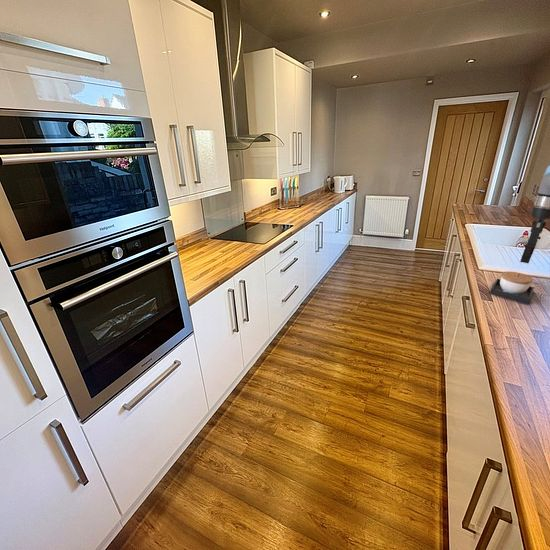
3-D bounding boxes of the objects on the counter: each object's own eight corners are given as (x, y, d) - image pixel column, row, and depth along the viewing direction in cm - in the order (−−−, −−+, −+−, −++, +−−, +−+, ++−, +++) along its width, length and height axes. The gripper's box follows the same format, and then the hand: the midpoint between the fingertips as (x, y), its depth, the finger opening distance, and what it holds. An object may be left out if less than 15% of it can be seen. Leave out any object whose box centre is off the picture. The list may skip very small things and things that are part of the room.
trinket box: (501, 295, 127) (508, 276, 123) (493, 285, 136) (499, 266, 132) (530, 299, 124) (538, 279, 120) (520, 288, 133) (527, 269, 129)
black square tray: (532, 292, 131) (534, 287, 129) (528, 304, 122) (530, 299, 121) (495, 283, 139) (497, 278, 138) (489, 293, 130) (491, 288, 129)
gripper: (536, 201, 123) (519, 248, 132) (529, 211, 107) (510, 264, 116) (559, 203, 118) (540, 251, 127) (556, 214, 102) (534, 269, 111)
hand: (526, 257), depth 122 cm, fingers open, 13 cm apart
